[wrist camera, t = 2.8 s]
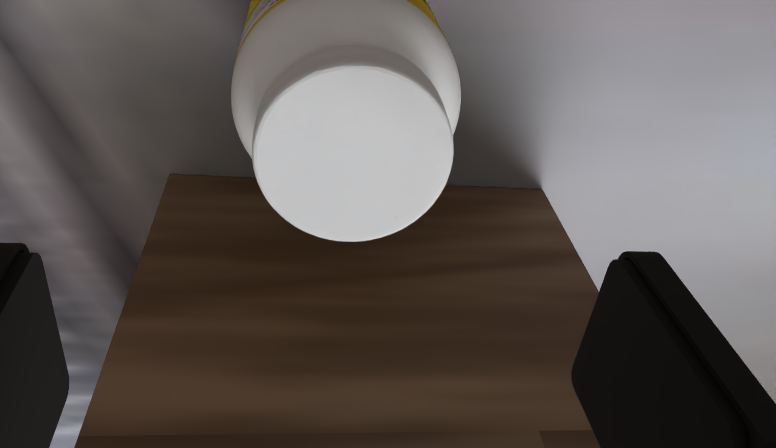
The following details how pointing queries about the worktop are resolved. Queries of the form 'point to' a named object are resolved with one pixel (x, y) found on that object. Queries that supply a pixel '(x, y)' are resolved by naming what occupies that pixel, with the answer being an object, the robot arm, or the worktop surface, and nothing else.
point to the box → (347, 329)
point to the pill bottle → (346, 112)
